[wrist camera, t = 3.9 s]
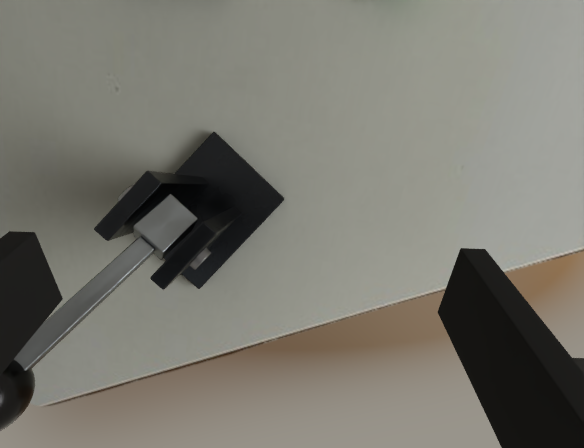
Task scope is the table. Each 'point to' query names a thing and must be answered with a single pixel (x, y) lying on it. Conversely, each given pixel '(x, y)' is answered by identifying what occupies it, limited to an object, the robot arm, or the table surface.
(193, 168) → the switch bracket
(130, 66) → the table surface
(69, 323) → the lever
